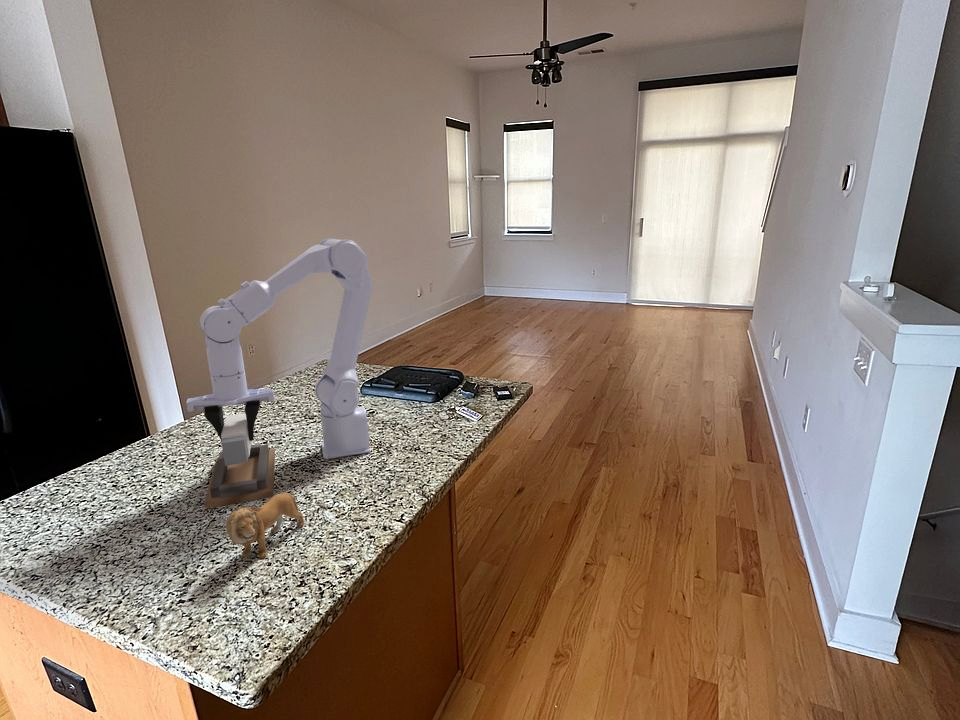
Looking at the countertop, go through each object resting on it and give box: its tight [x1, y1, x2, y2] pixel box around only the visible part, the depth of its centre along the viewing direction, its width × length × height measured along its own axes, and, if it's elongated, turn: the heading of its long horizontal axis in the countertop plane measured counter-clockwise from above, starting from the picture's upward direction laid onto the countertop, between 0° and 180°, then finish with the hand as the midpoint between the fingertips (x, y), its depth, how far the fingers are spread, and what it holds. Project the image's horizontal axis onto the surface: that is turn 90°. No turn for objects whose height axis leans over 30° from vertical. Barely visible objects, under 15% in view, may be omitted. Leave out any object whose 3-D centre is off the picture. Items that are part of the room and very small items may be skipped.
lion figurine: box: [225, 492, 305, 559], centre depth 78 cm, size 15×5×9 cm, turn 166°
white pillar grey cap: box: [220, 412, 253, 466], centre depth 96 cm, size 4×12×5 cm, turn 20°
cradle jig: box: [203, 443, 276, 510], centre depth 98 cm, size 11×18×3 cm, turn 20°
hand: (238, 440), depth 97 cm, fingers closed on white pillar grey cap, 4 cm apart
